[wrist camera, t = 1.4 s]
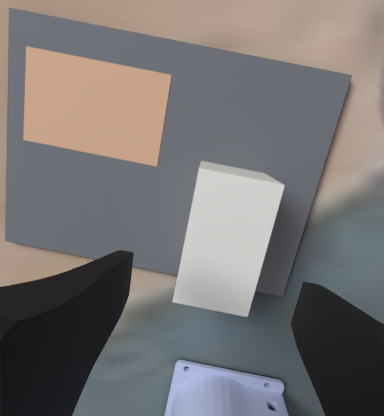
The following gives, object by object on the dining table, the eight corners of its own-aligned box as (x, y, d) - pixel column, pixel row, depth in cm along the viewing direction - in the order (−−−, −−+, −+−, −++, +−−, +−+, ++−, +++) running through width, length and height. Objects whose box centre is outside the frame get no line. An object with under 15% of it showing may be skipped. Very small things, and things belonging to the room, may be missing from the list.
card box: (264, 173, 19) (284, 185, 14) (238, 275, 21) (247, 317, 16) (201, 160, 19) (198, 167, 14) (180, 264, 21) (172, 302, 16)
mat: (347, 77, 18) (352, 75, 17) (280, 292, 22) (282, 297, 21) (15, 12, 18) (8, 7, 17) (10, 238, 22) (4, 241, 21)
